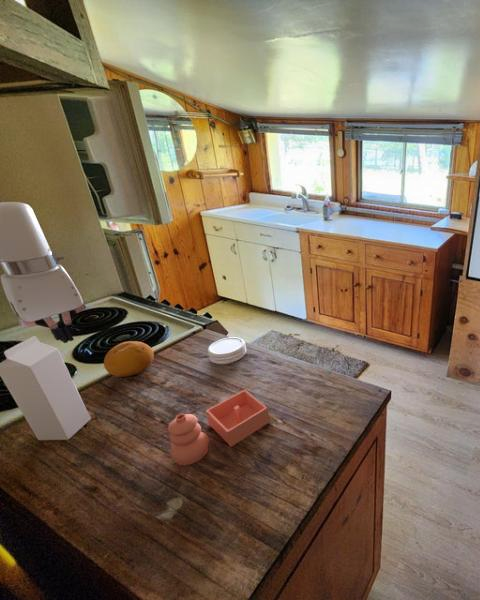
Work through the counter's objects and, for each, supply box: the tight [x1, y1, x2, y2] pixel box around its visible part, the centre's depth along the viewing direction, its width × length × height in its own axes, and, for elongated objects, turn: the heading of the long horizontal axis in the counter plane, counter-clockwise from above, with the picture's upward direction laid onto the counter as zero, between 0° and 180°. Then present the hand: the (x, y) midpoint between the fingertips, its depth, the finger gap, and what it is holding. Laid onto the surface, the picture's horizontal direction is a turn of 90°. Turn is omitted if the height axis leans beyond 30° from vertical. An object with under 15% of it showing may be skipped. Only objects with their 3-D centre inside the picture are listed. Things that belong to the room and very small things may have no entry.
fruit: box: [103, 340, 155, 378], centre depth 87 cm, size 10×10×8 cm
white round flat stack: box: [207, 336, 248, 365], centre depth 96 cm, size 10×10×4 cm
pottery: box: [167, 389, 271, 466], centre depth 68 cm, size 18×10×10 cm, turn 142°
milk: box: [0, 335, 92, 441], centre depth 66 cm, size 6×6×22 cm
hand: (66, 339), depth 75 cm, fingers closed
